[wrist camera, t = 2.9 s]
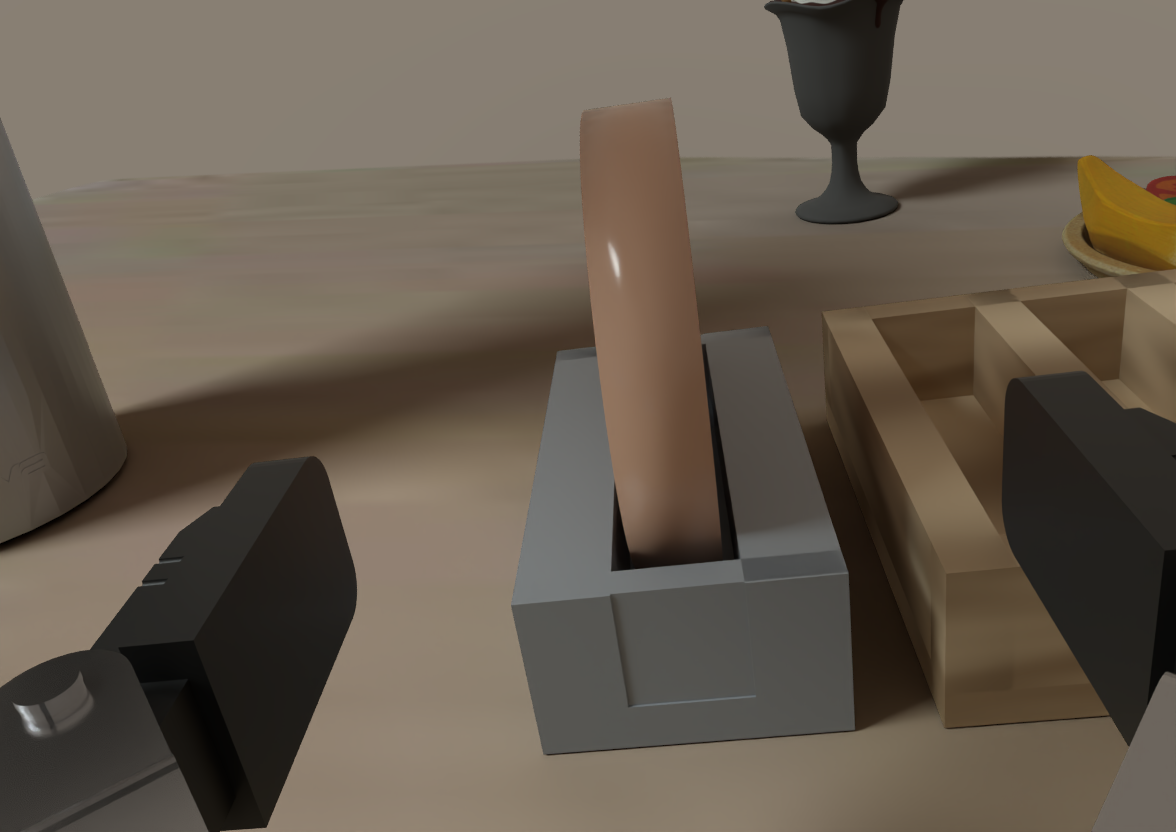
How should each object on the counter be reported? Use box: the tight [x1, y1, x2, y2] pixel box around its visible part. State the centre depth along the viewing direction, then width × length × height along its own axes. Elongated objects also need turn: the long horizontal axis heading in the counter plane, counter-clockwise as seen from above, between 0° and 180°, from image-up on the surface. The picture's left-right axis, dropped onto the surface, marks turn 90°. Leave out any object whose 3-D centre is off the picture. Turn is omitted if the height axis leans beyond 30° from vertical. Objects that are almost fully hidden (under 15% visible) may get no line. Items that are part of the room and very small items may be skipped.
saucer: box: [580, 98, 723, 569], centre depth 22 cm, size 10×2×10 cm, turn 178°
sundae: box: [764, 0, 903, 224], centre depth 47 cm, size 7×7×15 cm
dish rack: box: [822, 269, 1176, 728], centre depth 23 cm, size 13×13×4 cm
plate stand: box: [511, 326, 855, 754], centre depth 24 cm, size 12×6×4 cm, turn 178°
